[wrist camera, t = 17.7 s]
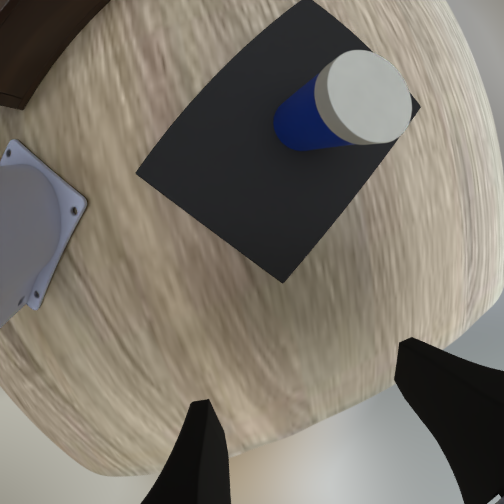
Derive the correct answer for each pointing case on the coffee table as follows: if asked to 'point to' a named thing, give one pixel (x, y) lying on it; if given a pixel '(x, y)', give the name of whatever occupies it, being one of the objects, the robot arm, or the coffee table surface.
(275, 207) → the mat
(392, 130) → the blue pill bottle
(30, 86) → the cabinet
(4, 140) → the coffee table surface
